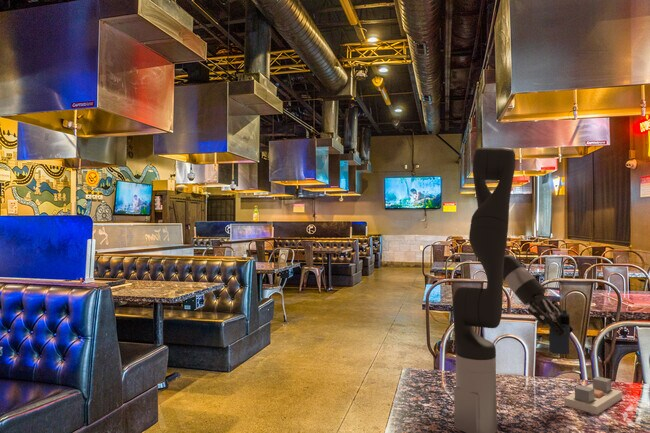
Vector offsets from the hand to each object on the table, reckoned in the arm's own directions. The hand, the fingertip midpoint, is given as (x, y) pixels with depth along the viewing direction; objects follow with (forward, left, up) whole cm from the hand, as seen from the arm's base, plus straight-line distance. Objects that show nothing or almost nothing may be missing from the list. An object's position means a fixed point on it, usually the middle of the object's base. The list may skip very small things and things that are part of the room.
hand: (566, 333), depth 123 cm
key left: (-1, -5, -17) cm, 17 cm away
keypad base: (+5, -5, -19) cm, 20 cm away
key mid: (+5, -5, -19) cm, 20 cm away
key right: (+11, -5, -17) cm, 20 cm away
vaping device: (0, +2, -6) cm, 6 cm away
